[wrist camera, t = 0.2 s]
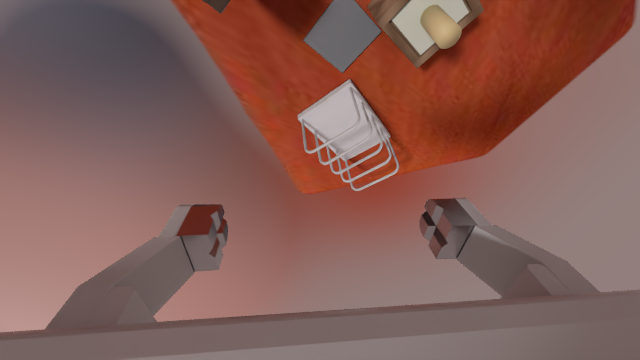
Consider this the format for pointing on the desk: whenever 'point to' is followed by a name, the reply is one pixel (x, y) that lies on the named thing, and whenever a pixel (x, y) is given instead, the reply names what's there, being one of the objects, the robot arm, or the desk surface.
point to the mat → (342, 33)
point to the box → (383, 10)
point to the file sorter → (346, 129)
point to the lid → (431, 22)
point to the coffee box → (217, 4)
